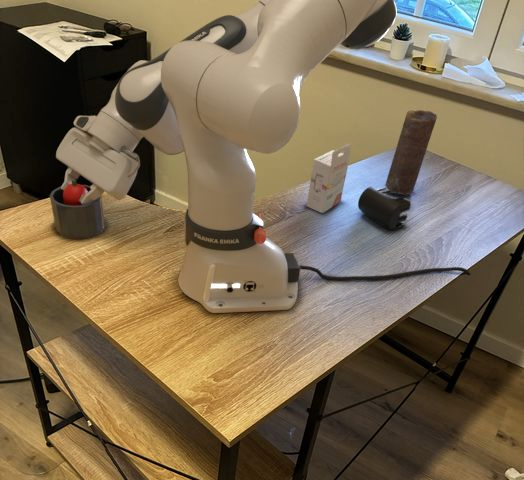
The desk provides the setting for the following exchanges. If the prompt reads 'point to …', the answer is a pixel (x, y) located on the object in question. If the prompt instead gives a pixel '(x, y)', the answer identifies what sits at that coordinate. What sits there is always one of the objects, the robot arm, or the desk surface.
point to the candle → (410, 151)
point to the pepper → (73, 193)
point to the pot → (77, 216)
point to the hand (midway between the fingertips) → (73, 198)
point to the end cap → (383, 207)
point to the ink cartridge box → (328, 179)
